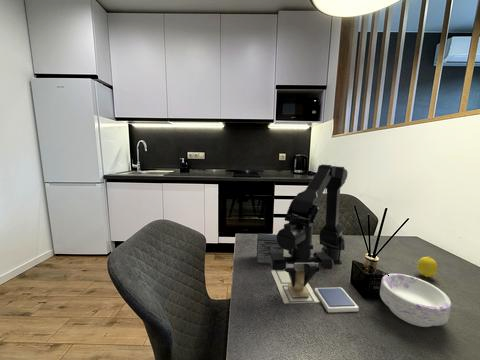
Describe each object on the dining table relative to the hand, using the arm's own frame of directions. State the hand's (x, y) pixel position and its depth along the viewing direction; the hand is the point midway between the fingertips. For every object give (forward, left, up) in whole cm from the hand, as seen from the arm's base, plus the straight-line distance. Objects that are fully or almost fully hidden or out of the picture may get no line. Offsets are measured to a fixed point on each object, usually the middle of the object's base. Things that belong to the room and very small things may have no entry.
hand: (298, 285), depth 68 cm
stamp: (0, 0, -2) cm, 2 cm away
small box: (+5, -20, -3) cm, 21 cm away
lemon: (-51, -7, -3) cm, 52 cm away
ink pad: (-10, +4, -3) cm, 11 cm away
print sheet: (0, -4, -3) cm, 5 cm away
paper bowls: (-29, +10, -3) cm, 31 cm away
